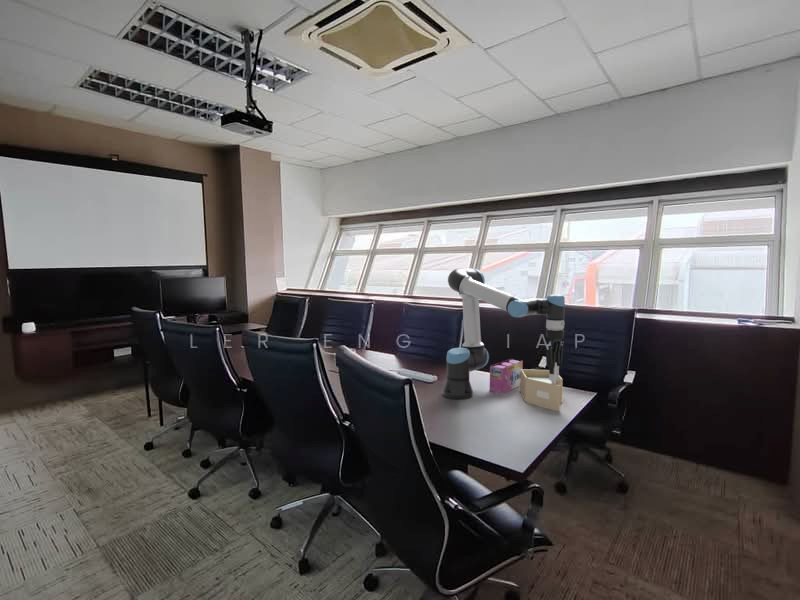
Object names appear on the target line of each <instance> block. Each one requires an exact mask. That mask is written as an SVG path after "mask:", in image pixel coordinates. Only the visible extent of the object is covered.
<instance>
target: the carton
mask: <svg viewBox="0 0 800 600" xmlns="http://www.w3.org/2000/svg"><path fill="white" fill-rule="evenodd" d="M526 378H529V379H534V380H538V381H542V382H547V383H552V381H550V380H549V369H528V368H527V369H525V368H524V369H521V381H520V386H519V387H520V390H519V392H520V394H521V395H522V399H523V400H524V401H525V400H526ZM563 380H564V379H563V378H562V377H561V375H559V380H556V385H560V404H563Z"/></svg>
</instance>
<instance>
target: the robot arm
mask: <svg viewBox="0 0 800 600" xmlns="http://www.w3.org/2000/svg"><path fill="white" fill-rule="evenodd" d="M485 282H486V281H485V276H484V274H483V273H482V272H481V270H479V269H478V268H472V267H471V268H456V269H454V270H452V271H451V272H450V273H449V275H448V276H447V283H448V286H449V288H451V289H452V291H454V292H457V293H458V294H459V296H460V297H461V299H462V317H463V320H462V321H463V335H464V337H463V338H464V342H463V343H462V345H461V347H454V348H451V349H449V350H448V351H447V352H446V379H445V383H444V385H443V389H442V395H443V396H444V397H446V398H448V399H451V400H467V399H470V398H472V397H473V395H474V391H473V387H472V385H471V382H470V381H471V380H470V372H474V371H477V370H481V369H482V368H484V367H485V366H486V365H487V364H488V363H489V359H490V354H489V352H488V350H487V349H486V348H485V344H484V343H483V342H482V336H481V320H480V319H481V317H480V301H483V302H485V303H487V304H490V305H493V306H494V307H496V308H499V309H501V310H503V311H505V312H508V314H509V315H510V316H511V317H513V318H524V317H527V316H534V315H538V316H539V315H540V316H541V315H542V316H546V323H545V328H546V330H545V337H546V338H547V339H548V342H547V344H545V345H544V349H545V363H546V366H547V367H548V368H549V369H548V370H549V380H550V381H556V380H559V376H560V372H559V371H560V367H562V364H563V356H564V355H563V354H564V346H565V342H564V341H562V339H564V337H565V330H564V329H565V309H566V308H565V307H566V304H565V303H566V301H565V296H564V295H563V294H547V296H546V298H538V297H537V298H536V297H524V298H522V299H521V298H519V297H517V296H515V295H512V294H510V293H507V292H505V291H502V290H500V289H498V288H494V287H492V286H489V285H487V284H486V283H485ZM479 300H480V301H479ZM555 362H556V363H557V373H556V367H555Z"/></svg>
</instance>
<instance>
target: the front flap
mask: <svg viewBox="0 0 800 600" xmlns="http://www.w3.org/2000/svg"><path fill="white" fill-rule="evenodd" d="M555 367H556V373H557V363H556V362H555ZM524 402H525V403H528V404H532V405H536V406H538V407H541V408H546V409H548V410H549V409H550V410H553V411H557V412H560V408H561V406H560V405H561V403H560V385H556V381H552V383H547V382H542V381H538V380H534V379H529V378H526V400H524Z"/></svg>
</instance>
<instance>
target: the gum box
mask: <svg viewBox="0 0 800 600" xmlns="http://www.w3.org/2000/svg"><path fill="white" fill-rule="evenodd" d="M523 363H524V361H523V360H520V361H519V360H515V359H514V358H509V359H506V360H503V361H501V362H498V363H495V364H492V365H490V366H489V391H490V392H494V393H498V394H504V393H507V392H509V391H512V390H513V389H514V390H515V388H517V387H520V381H521V369H523V368H524V367H523V366H524V365H523Z"/></svg>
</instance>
